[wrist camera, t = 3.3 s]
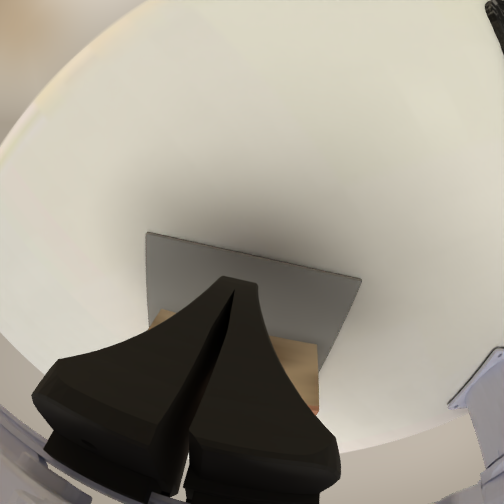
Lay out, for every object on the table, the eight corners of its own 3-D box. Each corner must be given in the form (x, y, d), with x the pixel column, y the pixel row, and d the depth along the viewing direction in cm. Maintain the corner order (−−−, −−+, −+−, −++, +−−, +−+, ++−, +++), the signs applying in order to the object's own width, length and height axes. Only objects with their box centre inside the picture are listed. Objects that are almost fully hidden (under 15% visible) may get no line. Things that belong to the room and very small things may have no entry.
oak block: (317, 344, 17) (319, 411, 12) (295, 389, 19) (291, 447, 14) (161, 308, 17) (126, 364, 13) (163, 358, 19) (138, 410, 15)
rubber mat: (361, 279, 14) (361, 281, 14) (274, 444, 24) (274, 446, 24) (147, 231, 15) (145, 233, 15) (161, 417, 25) (161, 419, 24)
